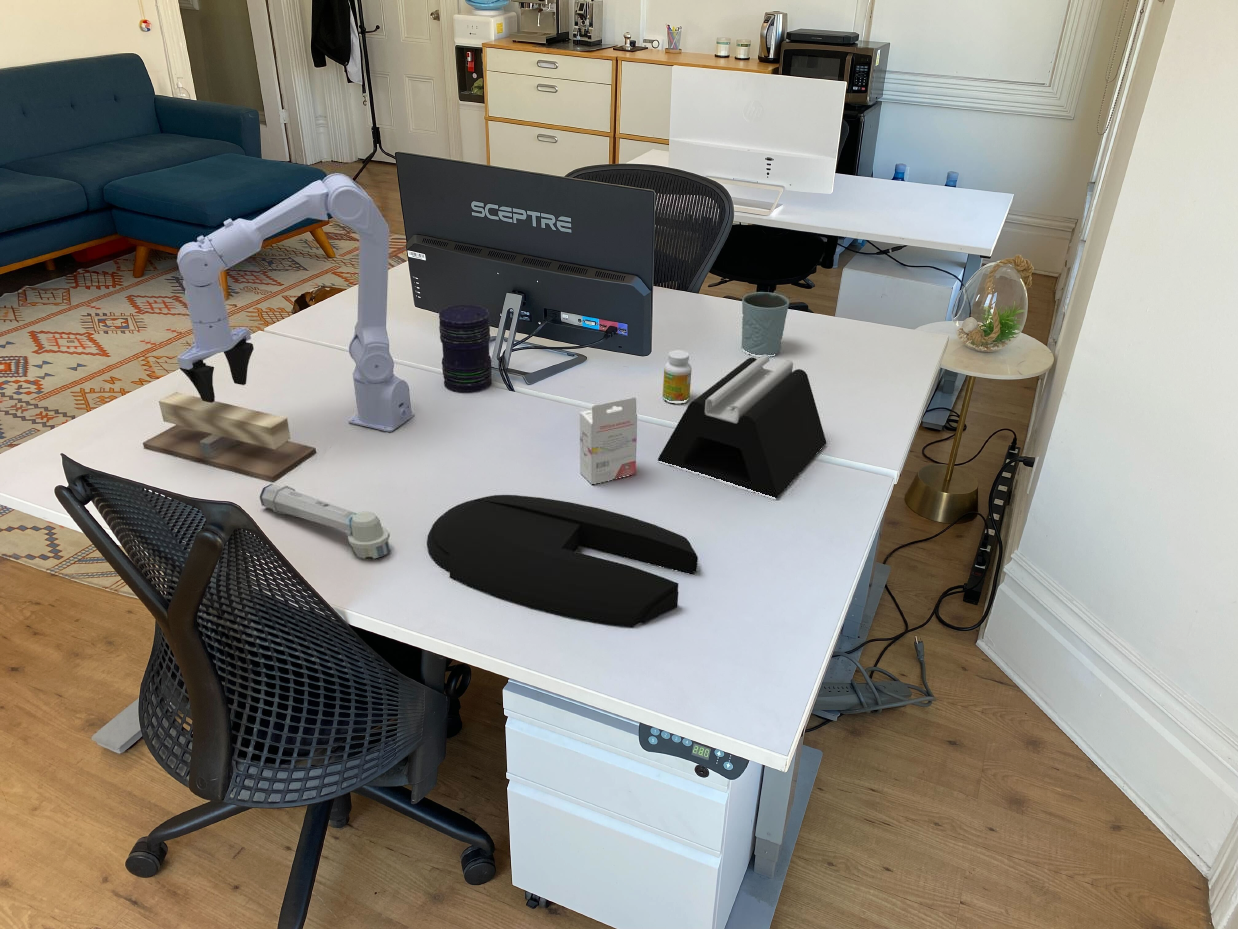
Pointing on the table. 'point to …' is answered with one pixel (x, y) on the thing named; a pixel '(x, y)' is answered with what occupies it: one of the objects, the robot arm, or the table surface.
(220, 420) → the beech rod
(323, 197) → the robot arm
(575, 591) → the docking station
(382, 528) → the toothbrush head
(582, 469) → the ink cartridge box
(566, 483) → the table surface
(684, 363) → the supplement bottle
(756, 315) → the embossed green cup
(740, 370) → the device stand
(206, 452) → the ridge
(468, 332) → the storage jar
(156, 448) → the board
